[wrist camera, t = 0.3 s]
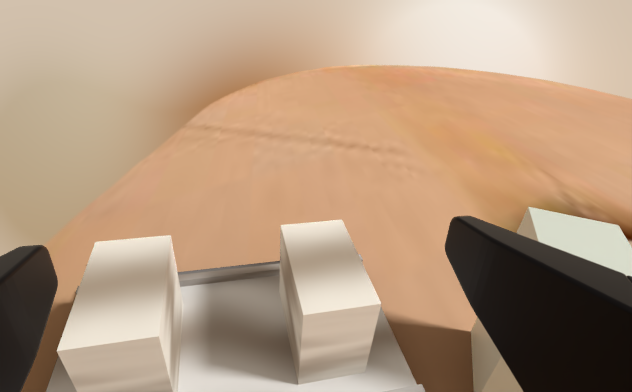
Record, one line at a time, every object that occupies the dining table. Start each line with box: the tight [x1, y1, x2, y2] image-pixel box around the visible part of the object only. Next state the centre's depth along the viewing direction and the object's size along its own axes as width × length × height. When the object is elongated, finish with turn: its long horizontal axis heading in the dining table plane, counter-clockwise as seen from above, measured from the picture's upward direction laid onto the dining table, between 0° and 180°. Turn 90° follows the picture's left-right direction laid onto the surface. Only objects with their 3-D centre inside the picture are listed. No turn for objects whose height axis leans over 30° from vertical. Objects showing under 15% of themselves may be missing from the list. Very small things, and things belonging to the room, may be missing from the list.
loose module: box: [471, 207, 632, 392], centre depth 22 cm, size 6×4×11 cm
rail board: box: [46, 220, 425, 392], centre depth 23 cm, size 14×20×8 cm
